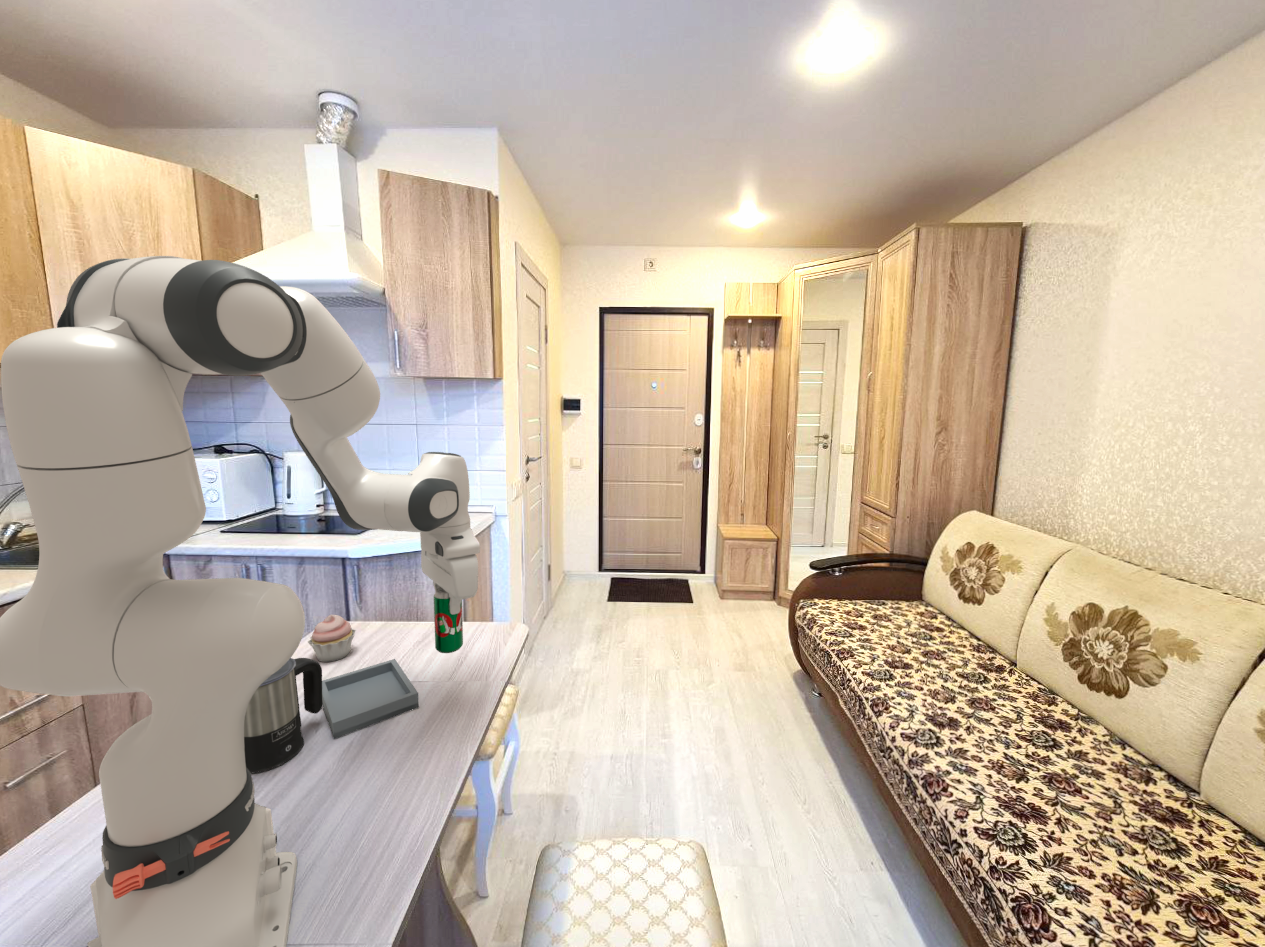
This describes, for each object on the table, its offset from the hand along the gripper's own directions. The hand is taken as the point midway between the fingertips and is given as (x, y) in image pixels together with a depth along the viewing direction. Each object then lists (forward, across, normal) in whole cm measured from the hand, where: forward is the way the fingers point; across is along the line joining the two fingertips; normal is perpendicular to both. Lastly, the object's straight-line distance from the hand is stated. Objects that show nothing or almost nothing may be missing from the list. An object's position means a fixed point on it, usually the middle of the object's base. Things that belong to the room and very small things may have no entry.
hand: (448, 607), depth 92 cm
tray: (+19, -9, -13) cm, 25 cm away
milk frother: (+20, -8, -29) cm, 36 cm away
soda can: (+8, 0, 0) cm, 9 cm away
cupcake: (+19, -33, -15) cm, 41 cm away
